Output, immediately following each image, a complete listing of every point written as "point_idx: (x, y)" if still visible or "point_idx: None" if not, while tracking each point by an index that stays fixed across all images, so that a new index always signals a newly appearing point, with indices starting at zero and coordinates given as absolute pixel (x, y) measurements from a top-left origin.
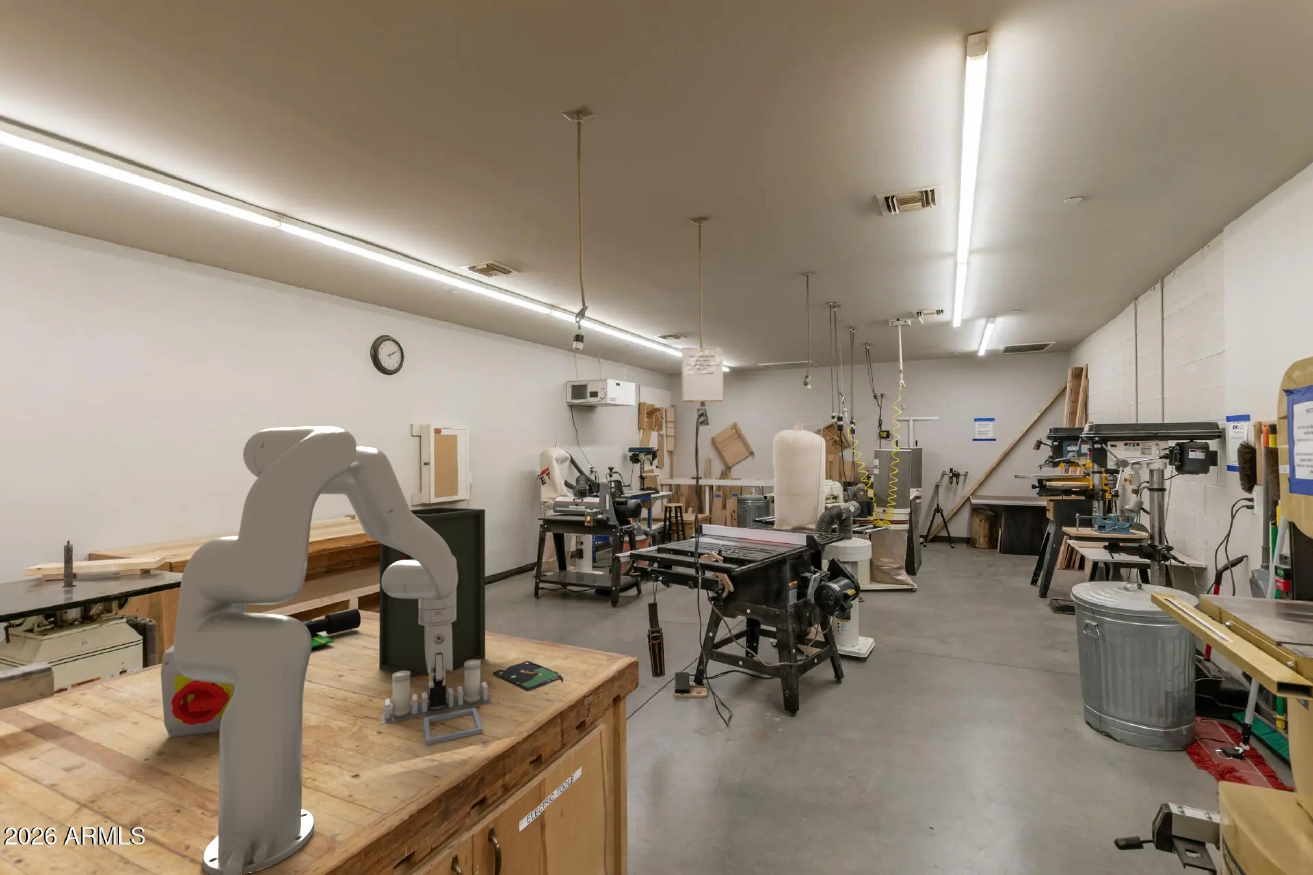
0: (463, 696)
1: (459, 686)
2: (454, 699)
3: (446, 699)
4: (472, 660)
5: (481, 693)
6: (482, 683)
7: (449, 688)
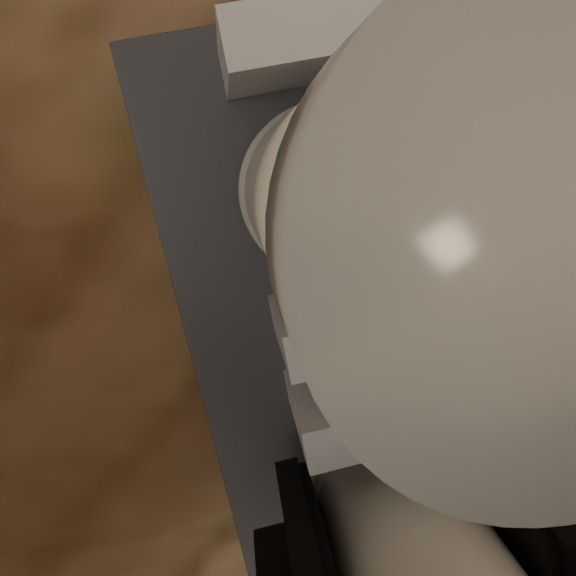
0: (210, 282)
1: (293, 358)
2: (260, 354)
3: (239, 420)
4: (375, 271)
5: (179, 102)
6: (273, 57)
7: (315, 457)
